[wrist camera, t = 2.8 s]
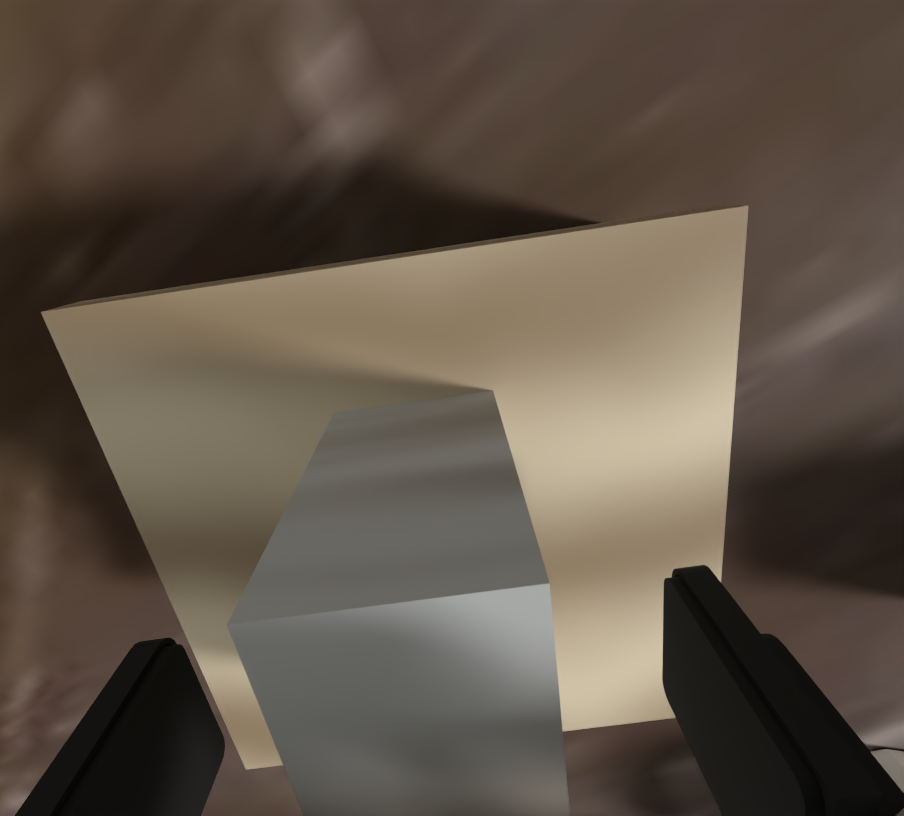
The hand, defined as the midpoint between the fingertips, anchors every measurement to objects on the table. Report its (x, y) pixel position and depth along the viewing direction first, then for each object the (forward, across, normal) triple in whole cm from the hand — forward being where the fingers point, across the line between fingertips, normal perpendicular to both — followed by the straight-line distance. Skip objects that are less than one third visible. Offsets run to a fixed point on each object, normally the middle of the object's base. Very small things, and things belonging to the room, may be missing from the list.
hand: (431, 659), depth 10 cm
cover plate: (+4, 0, 0) cm, 4 cm away
